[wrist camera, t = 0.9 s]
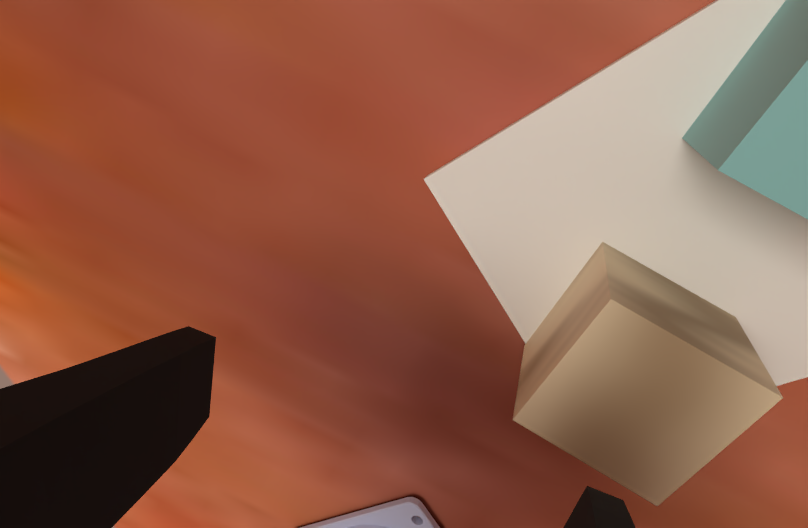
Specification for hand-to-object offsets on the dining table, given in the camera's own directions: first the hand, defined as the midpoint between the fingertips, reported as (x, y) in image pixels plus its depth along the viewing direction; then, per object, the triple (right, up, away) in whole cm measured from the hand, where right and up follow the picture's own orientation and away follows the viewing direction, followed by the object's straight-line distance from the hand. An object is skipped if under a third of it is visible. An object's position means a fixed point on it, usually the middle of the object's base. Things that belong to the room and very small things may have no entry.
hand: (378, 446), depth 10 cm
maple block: (+8, +1, +7) cm, 10 cm away
